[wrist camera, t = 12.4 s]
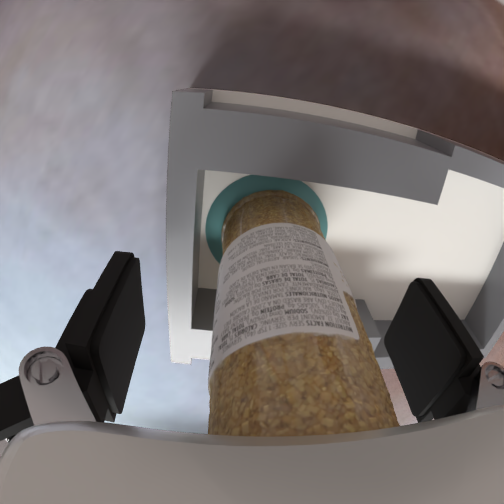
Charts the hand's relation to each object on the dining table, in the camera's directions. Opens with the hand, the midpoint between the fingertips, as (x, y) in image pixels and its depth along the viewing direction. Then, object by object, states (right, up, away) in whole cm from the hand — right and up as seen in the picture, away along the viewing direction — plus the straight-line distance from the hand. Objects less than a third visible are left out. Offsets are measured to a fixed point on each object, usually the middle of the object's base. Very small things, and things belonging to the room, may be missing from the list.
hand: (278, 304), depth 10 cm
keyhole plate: (+6, +2, +5) cm, 8 cm away
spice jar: (0, +3, +5) cm, 5 cm away
